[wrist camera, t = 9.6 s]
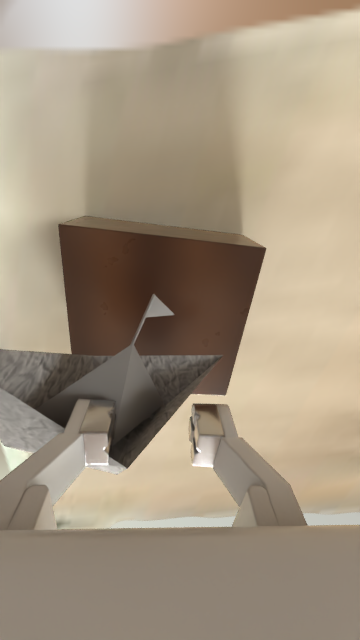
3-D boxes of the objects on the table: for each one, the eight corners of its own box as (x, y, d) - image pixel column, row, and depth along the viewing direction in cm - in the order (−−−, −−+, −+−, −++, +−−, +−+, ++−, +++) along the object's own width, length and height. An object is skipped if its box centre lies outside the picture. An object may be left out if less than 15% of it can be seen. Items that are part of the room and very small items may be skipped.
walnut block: (243, 234, 19) (266, 248, 15) (214, 359, 24) (226, 396, 20) (84, 215, 18) (57, 223, 13) (92, 351, 23) (74, 388, 19)
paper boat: (-96, 585, 7) (-127, 344, 3) (-54, 405, 11) (-47, 212, 8) (202, 470, 14) (299, 354, 11) (159, 387, 19) (217, 283, 15)
